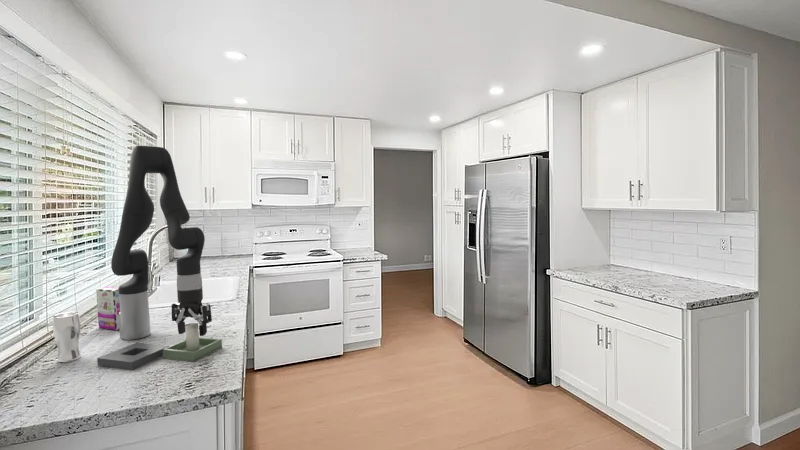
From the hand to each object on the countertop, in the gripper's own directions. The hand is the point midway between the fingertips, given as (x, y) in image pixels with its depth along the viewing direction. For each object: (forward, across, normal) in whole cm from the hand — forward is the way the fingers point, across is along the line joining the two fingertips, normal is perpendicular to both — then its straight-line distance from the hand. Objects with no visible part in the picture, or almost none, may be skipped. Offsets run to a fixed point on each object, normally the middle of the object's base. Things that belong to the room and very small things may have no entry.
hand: (192, 334), depth 137 cm
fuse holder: (+6, -15, -9) cm, 19 cm away
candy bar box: (+7, -54, +15) cm, 56 cm away
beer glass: (+7, -37, -14) cm, 40 cm away
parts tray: (+6, 0, 0) cm, 6 cm away
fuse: (+6, 0, 0) cm, 6 cm away
